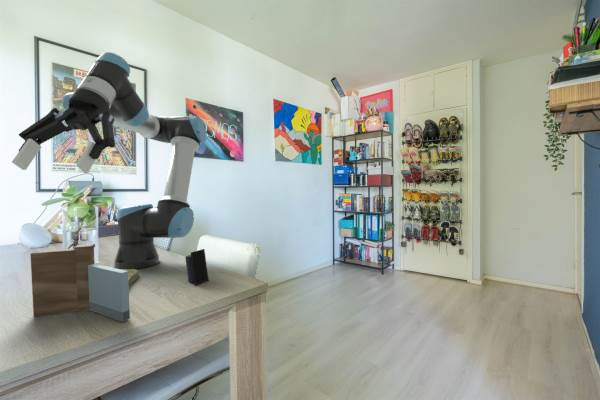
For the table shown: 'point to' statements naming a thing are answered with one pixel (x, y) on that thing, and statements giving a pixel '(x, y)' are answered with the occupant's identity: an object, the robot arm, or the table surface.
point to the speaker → (197, 267)
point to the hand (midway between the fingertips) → (50, 167)
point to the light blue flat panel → (109, 291)
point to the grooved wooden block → (61, 280)
